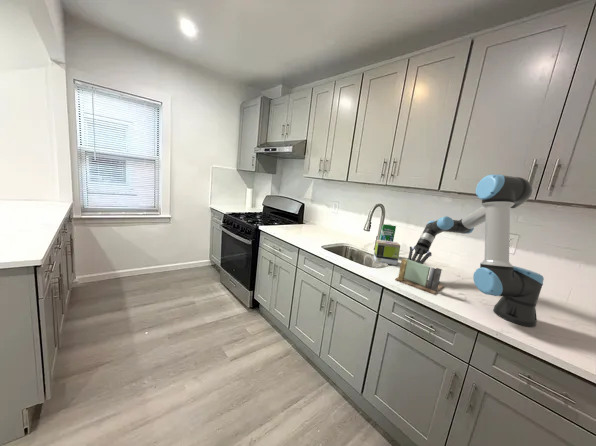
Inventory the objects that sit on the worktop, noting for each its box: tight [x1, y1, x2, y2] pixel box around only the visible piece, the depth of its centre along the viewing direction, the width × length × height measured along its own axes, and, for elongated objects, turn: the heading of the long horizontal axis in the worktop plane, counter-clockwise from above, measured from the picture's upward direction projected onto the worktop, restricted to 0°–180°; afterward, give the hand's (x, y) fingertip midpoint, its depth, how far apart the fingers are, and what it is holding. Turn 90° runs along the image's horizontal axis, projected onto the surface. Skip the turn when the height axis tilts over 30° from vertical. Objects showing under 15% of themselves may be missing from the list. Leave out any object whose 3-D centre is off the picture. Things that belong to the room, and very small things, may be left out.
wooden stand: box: [394, 258, 444, 296], centre depth 141 cm, size 21×18×13 cm
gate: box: [404, 258, 436, 288], centre depth 139 cm, size 17×2×11 cm, turn 39°
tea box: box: [373, 239, 401, 266], centre depth 176 cm, size 15×10×15 cm, turn 80°
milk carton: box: [378, 223, 397, 242], centre depth 192 cm, size 9×9×25 cm
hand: (409, 272), depth 145 cm, fingers closed
